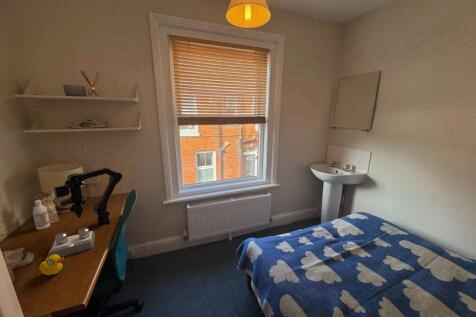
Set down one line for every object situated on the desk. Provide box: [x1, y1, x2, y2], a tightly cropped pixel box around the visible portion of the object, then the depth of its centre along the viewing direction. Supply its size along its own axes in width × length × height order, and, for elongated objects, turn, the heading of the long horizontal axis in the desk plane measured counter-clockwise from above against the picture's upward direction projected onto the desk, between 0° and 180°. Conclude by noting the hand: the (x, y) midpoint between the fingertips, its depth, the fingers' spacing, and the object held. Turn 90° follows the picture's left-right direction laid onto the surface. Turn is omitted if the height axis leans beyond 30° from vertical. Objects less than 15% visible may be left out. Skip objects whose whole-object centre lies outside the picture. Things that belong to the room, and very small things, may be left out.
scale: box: [46, 230, 96, 258], centre depth 118 cm, size 20×16×5 cm
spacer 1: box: [54, 231, 68, 245], centre depth 116 cm, size 5×5×5 cm
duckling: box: [39, 254, 65, 276], centre depth 97 cm, size 11×5×10 cm, turn 93°
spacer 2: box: [77, 227, 90, 240], centre depth 122 cm, size 5×5×5 cm
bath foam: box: [32, 199, 51, 231], centre depth 136 cm, size 7×7×20 cm
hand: (80, 214), depth 131 cm, fingers open, 9 cm apart
